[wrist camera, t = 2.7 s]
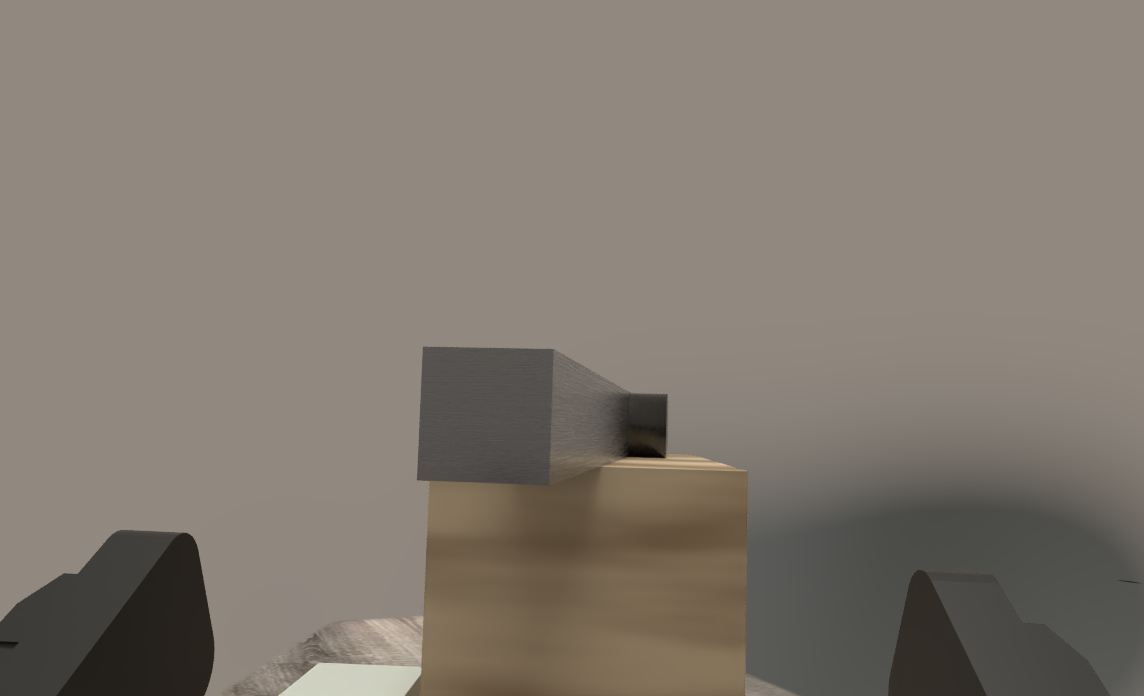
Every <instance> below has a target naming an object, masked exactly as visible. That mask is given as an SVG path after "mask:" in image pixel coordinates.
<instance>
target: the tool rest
mask: <svg viewBox="0 0 1144 696" xmlns="http://www.w3.org/2000/svg"><path fill="white" fill-rule="evenodd" d="M420 688H421V667H408V666H383V665H359V664H335V663H318V664H317V665H316V666H315V667H313V668H312V669H311V670H310V671H308V672H307V673H306V674H305V675H304V676H302V677H301V678H300V679H299V680H297V681H296V682H295V683H294V684H292V685H291V686H290V687H289V688H288V689H286V690H285V691H284V692H283V693H281V694H280V695H279V696H420Z"/></svg>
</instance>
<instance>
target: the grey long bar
mask: <svg viewBox="0 0 1144 696" xmlns="http://www.w3.org/2000/svg"><path fill="white" fill-rule="evenodd" d="M667 436H668V395H667V394H637V393H630V392H628V391H626V390H624V389H623V388H621V387H619V386H617V385H616V384H614V383H612V382H610V381H609V380H607V379H605V378H603V377H602V376H600V375H598V374H596V373H595V372H593V371H591V370H589V369H587V368H586V367H584V366H582V365H581V364H579V363H577V362H575V361H573V360H572V359H570V358H568V357H566V356H564V355H563V354H561V353H559V352H558V351H556V350H554V349H510V348H458V347H456V348H455V347H423V359H422V382H421V404H420V427H419V451H418V473H417V480H423V481H425V480H426V481H449V482H475V483H500V484H526V485H552V484H555V483H558V482H560V481H563V480H566V479H569V478H572V477H574V476H577V475H580V474H583V473H586V472H588V471H591V470H594V469H597V468H600V467H602V466H605V465H608V464H611V463H614V462H616V461H619V460H622V459H625V458H628V457H652V458H666V456H667V438H668V437H667Z"/></svg>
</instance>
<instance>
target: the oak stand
mask: <svg viewBox="0 0 1144 696" xmlns="http://www.w3.org/2000/svg"><path fill="white" fill-rule="evenodd" d="M747 498H748V471H745V470H742V469H738V468H735V467H732V466H728V465H725V464H721V463H718V462H715V461H711V460H708V459H705V458H702V457H698V456H695V455H673V454H667V456H666V458H652V457H628V458H625V459H622V460H619V461H616V462H614V463H611V464H608V465H605V466H602V467H600V468H597V469H594V470H591V471H588V472H586V473H583V474H580V475H577V476H574V477H572V478H569V479H566V480H563V481H560V482H558V483H555V484H552V485H526V484H500V483H475V482H449V481H429V503H428V504H429V505H428V526H427V550H426V573H425V596H424V619H423V642H422V665H421V688H420V696H745V652H746V576H747V575H746V574H747V501H748V499H747Z"/></svg>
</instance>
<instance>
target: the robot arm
mask: <svg viewBox="0 0 1144 696" xmlns="http://www.w3.org/2000/svg"><path fill="white" fill-rule="evenodd" d="M213 661H214V637H213V631H212V626H211V620H210V614H209V608H208V603H207V598H206V591H205V586H204V580H203V575H202V569H201V563H200V558H199V552H198V548H197V544H196V542H195V540H194V538H193V537H192V536H191V535H190V534H188V533H174V532H154V531H134V530H120V531H117V532H116V533H114V534H112V535H111V536H110V537H109V538H108V539H107V540H106V542H105V543H104V544H103V545H102V546H101V548H100V549H99V550H98V551H97V552H96V553H95V555H94V556H93V557H92V558H91V559H90V561H89V562H88V563H87V564H86V565H85V566H84V567H83V569H82V570H81V571H80V572H79V573H78V574H65V573H64V574H62V575H61V576H59V577H58V578H56V579H55V580H53V581H51V582H50V583H48V584H47V585H45V586H44V587H42V588H41V589H39V590H38V591H36V592H35V593H33V594H31V595H30V596H28V597H27V598H25V599H24V600H22V601H21V602H19V603H17V604H16V606H15V607H14V608H13V609H12V610H11V611H10V612H9V613H8V614H7V615H6V616H5V617H4V619H3V620H2V621H1V622H0V696H204V695H205V692H206V690H207V687H208V684H209V681H210V677H211V673H212V668H213ZM888 695H889V696H1110V695H1109V693H1108V691H1107V690H1106V688H1105V687H1104V685H1103V684H1102V682H1101V681H1100V679H1099V677H1098V676H1097V674H1096V673H1095V671H1094V670H1093V668H1092V667H1091V665H1090V664H1089V662H1088V661H1087V660H1086V659H1085V658H1084V657H1083V656H1082V655H1080V654H1079V653H1078V652H1077V651H1076V650H1075V649H1073V648H1072V647H1071V646H1070V645H1069V644H1067V643H1066V642H1065V641H1064V640H1063V639H1061V638H1060V637H1059V636H1058V635H1057V634H1056V633H1054V632H1053V631H1052V630H1051V629H1050V628H1049V627H1047V626H1046V625H1045V624H1034V623H1032V624H1031V623H1022V622H1021V620H1020V618H1019V617H1018V615H1017V613H1016V612H1015V610H1014V609H1013V606H1012V605H1011V603H1010V601H1009V599H1008V598H1007V596H1006V595H1005V593H1004V591H1003V589H1002V588H1001V586H1000V584H999V583H998V581H997V580H996V578H995V577H994V576H992V575H991V574H989V573H977V572H953V571H934V570H918V571H916V572H915V573H914V575H913V576H912V578H911V581H910V584H909V588H908V593H907V597H906V602H905V607H904V612H903V616H902V621H901V626H900V631H899V635H898V640H897V645H896V650H895V654H894V659H893V664H892V668H891V673H890V679H889V693H888Z"/></svg>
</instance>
